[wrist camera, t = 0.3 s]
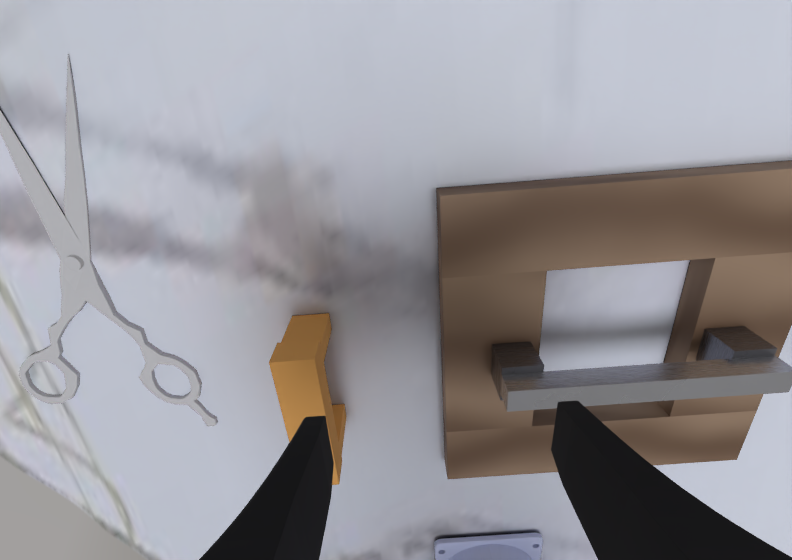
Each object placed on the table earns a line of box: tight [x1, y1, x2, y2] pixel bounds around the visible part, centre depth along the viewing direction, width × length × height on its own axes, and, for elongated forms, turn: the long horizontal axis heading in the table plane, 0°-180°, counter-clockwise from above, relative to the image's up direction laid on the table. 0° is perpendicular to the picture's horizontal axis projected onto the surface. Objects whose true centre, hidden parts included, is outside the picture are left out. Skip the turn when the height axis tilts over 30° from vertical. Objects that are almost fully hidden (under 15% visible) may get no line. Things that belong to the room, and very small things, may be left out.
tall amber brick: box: [269, 313, 346, 485], centre depth 21 cm, size 8×2×4 cm, turn 4°
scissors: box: [0, 56, 218, 426], centre depth 21 cm, size 11×1×20 cm
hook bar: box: [491, 326, 792, 412], centre depth 20 cm, size 2×13×3 cm, turn 94°
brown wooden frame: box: [436, 160, 792, 479], centre depth 22 cm, size 18×18×2 cm
